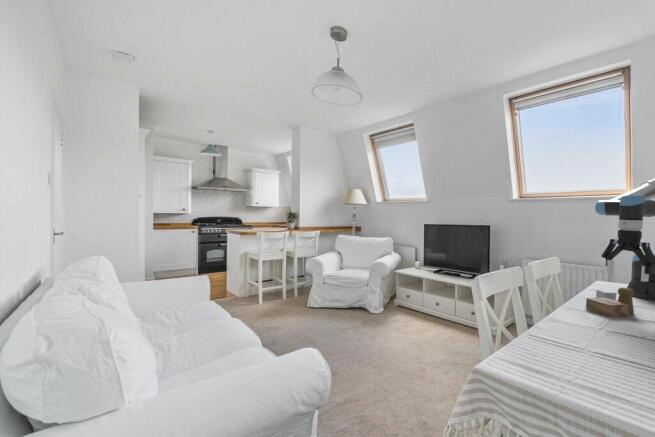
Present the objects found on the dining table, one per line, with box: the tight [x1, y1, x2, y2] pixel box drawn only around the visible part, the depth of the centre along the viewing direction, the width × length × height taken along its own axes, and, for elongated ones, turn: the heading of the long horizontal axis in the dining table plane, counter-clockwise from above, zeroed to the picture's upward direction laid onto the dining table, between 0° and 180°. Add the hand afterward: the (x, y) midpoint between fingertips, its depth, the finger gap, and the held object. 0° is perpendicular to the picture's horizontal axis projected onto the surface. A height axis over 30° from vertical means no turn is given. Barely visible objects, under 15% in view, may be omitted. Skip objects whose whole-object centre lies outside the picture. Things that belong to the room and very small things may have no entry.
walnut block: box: [585, 297, 630, 318], centre depth 134 cm, size 10×10×5 cm
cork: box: [617, 287, 635, 316], centre depth 134 cm, size 6×6×11 cm
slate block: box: [595, 289, 617, 301], centre depth 147 cm, size 5×5×6 cm
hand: (626, 277), depth 134 cm, fingers open, 13 cm apart
